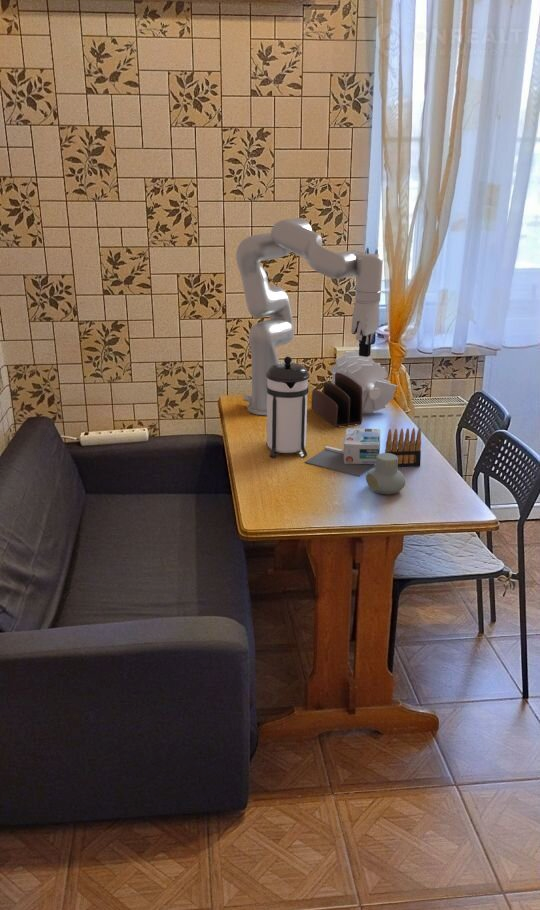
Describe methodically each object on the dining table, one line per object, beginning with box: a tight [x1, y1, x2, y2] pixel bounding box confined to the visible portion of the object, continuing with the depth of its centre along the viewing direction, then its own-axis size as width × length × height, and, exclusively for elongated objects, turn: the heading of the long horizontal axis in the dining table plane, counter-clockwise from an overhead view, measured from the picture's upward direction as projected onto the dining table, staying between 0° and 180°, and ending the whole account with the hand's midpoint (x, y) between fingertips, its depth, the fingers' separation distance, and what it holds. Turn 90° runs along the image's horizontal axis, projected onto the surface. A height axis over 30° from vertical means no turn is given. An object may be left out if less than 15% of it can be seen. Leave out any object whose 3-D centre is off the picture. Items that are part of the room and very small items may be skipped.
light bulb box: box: [343, 427, 381, 465], centre depth 229 cm, size 11×7×11 cm
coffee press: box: [265, 356, 310, 459], centre depth 232 cm, size 17×16×30 cm
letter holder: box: [310, 372, 363, 428], centre depth 263 cm, size 10×20×14 cm, turn 22°
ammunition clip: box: [384, 427, 422, 469], centre depth 224 cm, size 11×2×12 cm, turn 97°
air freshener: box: [365, 452, 406, 495], centre depth 209 cm, size 11×8×10 cm
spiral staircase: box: [330, 348, 398, 414], centre depth 275 cm, size 18×18×25 cm
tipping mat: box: [304, 445, 376, 477], centre depth 229 cm, size 18×13×1 cm
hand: (364, 355), depth 238 cm, fingers closed
